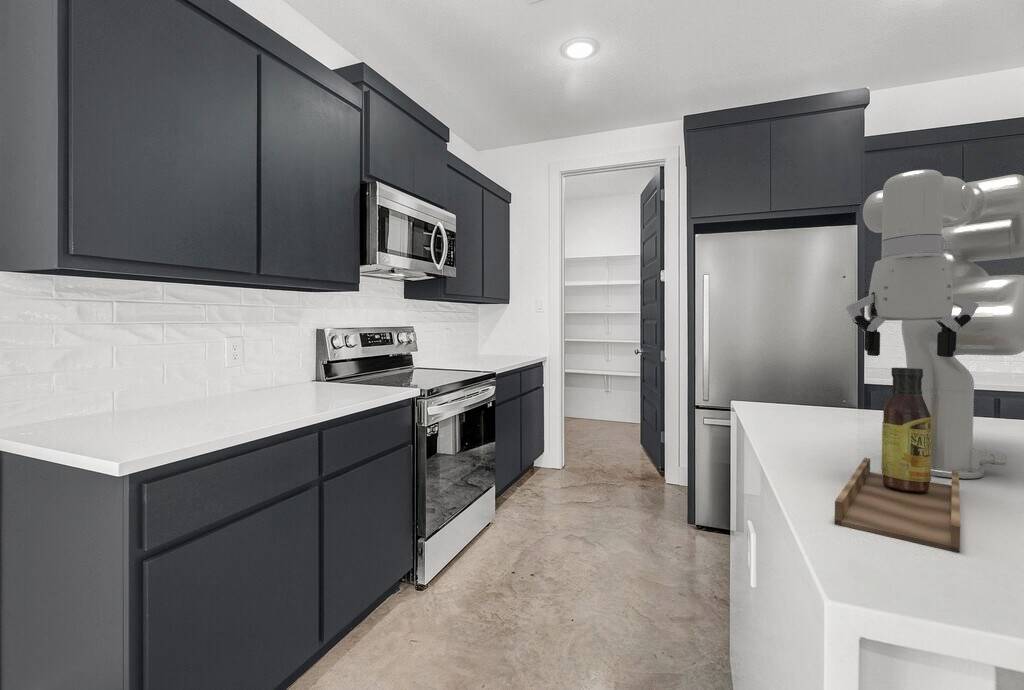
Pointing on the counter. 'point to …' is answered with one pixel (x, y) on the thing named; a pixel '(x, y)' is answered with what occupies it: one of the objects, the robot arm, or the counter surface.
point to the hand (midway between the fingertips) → (908, 356)
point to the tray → (901, 509)
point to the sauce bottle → (906, 434)
